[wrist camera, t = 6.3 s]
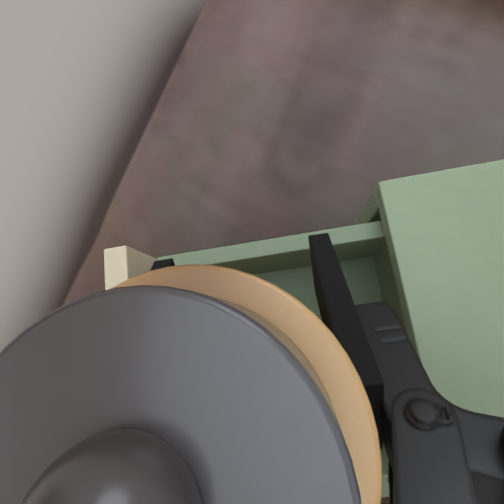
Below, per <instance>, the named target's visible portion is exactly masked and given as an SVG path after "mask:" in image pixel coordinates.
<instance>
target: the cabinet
mask: <svg viewBox="0 0 504 504" xmlns="http://www.w3.org/2000/svg"><path fill="white" fill-rule="evenodd" d="M375 221H382V225H383V230H384V234H385V238H386V243H387V247H388V252H389V256H390V260H391V265H392V269H393V273H394V278H395V282H396V287H397V291H398V295H399V300H400V304H401V308H402V313H403V317H404V321H405V326H406V330H407V335H408V339H409V340H410V341H411V343H412V345H413V347H414V349H415V351H416V353H417V355H418V357H419V359H420V361H421V363H422V365H423V367H424V369H425V371H426V373H427V375H428V377H429V379H430V381H431V383H432V384H433V386H434V387H435V389H436V390H437V391H438V392H439V393H440V394H441V395H442V396H443V397H444V398H445V399H446V400H448V401H449V402H451V403H452V404H454V405H456V406H458V407H460V408H463V409H465V410H469V411H473V412H477V413H482V414H487V415H492V416H498V417H503V418H504V159H503V160H498V161H492V162H486V163H481V164H475V165H470V166H464V167H458V168H453V169H447V170H442V171H436V172H430V173H425V174H419V175H414V176H408V177H402V178H397V179H391V180H385V181H380V182H378V184H377V186H376V187H375V190H374V191H373V193H372V195H371V197H370V199H369V200H368V202H367V204H366V206H365V208H364V209H363V211H362V213H361V215H360V217H359V218H358V220H357V222H356V224H355V225H357V224H363V223H369V222H375Z"/></svg>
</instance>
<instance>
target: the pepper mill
mask: <svg viewBox="0 0 504 504" xmlns="http://www.w3.org/2000/svg"><path fill="white" fill-rule="evenodd" d="M381 498H382V458H381V450H380V443H379V436H378V430H377V426H376V422H375V418H374V415H373V411H372V407H371V403H370V401H369V398H368V396H367V393H366V391H365V388H364V386H363V383H362V381H361V378H360V376H359V374H358V373H357V371H356V369H355V367H354V365H353V363H352V361H351V360H350V358H349V356H348V354H347V353H346V351H345V350H344V348H343V347H342V346H341V344H340V343H339V341H338V340H337V339H336V337H335V336H334V334H333V333H332V332H331V331H330V330H329V329H328V328H327V326H326V325H325V324H324V323H323V322H322V321H321V320H320V319H319V318H318V317H317V316H316V315H315V314H314V313H313V312H312V311H311V310H310V309H308V308H307V307H306V306H305V305H304V304H303V303H301V302H300V301H299V300H298V299H297V298H295V297H294V296H292V295H290V294H289V293H287V292H286V291H284V290H283V289H281V288H280V287H278V286H276V285H274V284H272V283H270V282H268V281H266V280H264V279H262V278H260V277H257V276H255V275H252V274H249V273H246V272H243V271H239V270H236V269H232V268H226V267H221V266H215V265H198V264H189V265H178V266H169V267H165V268H160V269H156V270H152V271H148V272H146V273H143V274H140V275H137V276H135V277H132V278H129V279H128V280H126V281H124V282H122V283H120V284H118V285H116V286H114V287H112V288H110V289H109V290H104V291H100V292H96V293H93V294H90V295H87V296H85V297H82V298H79V299H76V300H74V301H71V302H69V303H67V304H66V305H64V306H62V307H60V308H58V309H56V310H54V311H52V312H50V313H49V314H47V315H45V316H44V317H43V318H41V319H40V320H38V321H37V322H35V323H34V324H32V325H31V326H30V327H28V328H27V329H25V330H24V331H23V332H22V333H21V334H19V335H18V336H17V337H16V338H15V339H14V340H13V341H12V342H11V343H9V344H8V345H7V346H6V347H5V348H4V349H3V350H2V351H1V353H0V504H381Z"/></svg>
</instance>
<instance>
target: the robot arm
mask: <svg viewBox="0 0 504 504" xmlns="http://www.w3.org/2000/svg"><path fill="white" fill-rule="evenodd" d="M308 239H309V247H310V255H311V263H312V271H313V280H314V288H315V293H316V297H317V302H318V306H319V310H320V315H321V319H322V322H323V323H324V324H325V325H326V326H327V328H328V329H329V330H330V331H331V332H332V333H333V334H334V336H335V337H336V339H337V340H338V341H339V343H340V344H341V346H342V347H343V348H344V350H345V351H346V353H347V354H348V356H349V358H350V360H351V361H352V363H353V365H354V367H355V369H356V371H357V373H358V374H359V376H360V378H361V381H362V383H363V386H364V388H365V391H366V393H367V396H368V398H369V401H370V403H371V407H372V411H373V415H374V418H375V422H376V426H377V430H378V436H379V443H380V449H382V445H383V443H384V446H385V449H386V453H387V456H388V459H389V461H388V482H389V500H390V504H504V418H503V417H498V416H492V415H487V414H482V413H477V412H473V411H469V410H465V409H463V408H460V407H458V406H456V405H454V404H452V403H451V402H449V401H448V400H446V399H445V398H444V397H443V396H442V395H441V394H440V393H439V392H438V391H437V390H436V389H435V387H434V386H433V384H432V383H431V381H430V379H429V377H428V375H427V373H426V371H425V369H424V367H423V365H422V363H421V361H420V359H419V357H418V355H417V353H416V351H415V349H414V347H413V345H412V343H411V341H410V340H409V339H408V335H407V333H406V332H405V330H404V328H403V326H402V324H401V322H400V320H399V318H398V316H397V314H396V312H395V311H394V310H393V309H391V308H390V307H389V306H388V305H387V304H385V303H384V302H383V301H381V302H373V303H366V304H359V305H355V304H354V301H353V298H352V296H351V293H350V290H349V288H348V285H347V282H346V280H345V277H344V274H343V271H342V269H341V266H340V263H339V261H338V258H337V255H336V253H335V250H334V247H333V245H332V242H331V239H330V236H329V234H328V233H322V234H316V235H310V236H308ZM169 266H175V263H174V261H173V258H170V259H164V260H158V261H154V263H153V265H152V268H151V270H150V271H152V270H156V269H160V268H165V267H169Z"/></svg>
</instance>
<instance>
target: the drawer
mask: <svg viewBox="0 0 504 504" xmlns="http://www.w3.org/2000/svg"><path fill="white" fill-rule="evenodd" d="M322 233H328V234H329V236H330V239H331V242H332V245H333V247H334V250H335V253H336V255H337V258H338V261H339V263H340V266H341V269H342V271H343V274H344V277H345V280H346V282H347V285H348V288H349V290H350V293H351V296H352V298H353V301H354V304H355V305H359V304H366V303H373V302H381V301H383V302H384V303H385V304H387V305H388V306H389V307H390V308H391V309H393V310H394V311H395V312H396V314H397V316H398V318H399V320H400V322H401V324H402V326H403V328H404V330H405V332H406V333H407V330H406V326H405V321H404V317H403V313H402V308H401V304H400V300H399V295H398V291H397V287H396V282H395V278H394V273H393V269H392V265H391V260H390V256H389V252H388V247H387V243H386V238H385V234H384V230H383V225H382V221H375V222H369V223H363V224H357V225H351V226H345V227H339V228H333V229H327V230H321V231H315V232H309V233H303V234H297V235H291V236H285V237H278V238H272V239H266V240H260V241H254V242H248V243H242V244H236V245H230V246H224V247H218V248H212V249H206V250H200V251H194V252H188V253H182V254H176V255H170V256H164V257H158V258H157V259H156V258H153V257H151V256H149V255H146V254H144V253H142V252H139V251H137V250H135V249H132V248H130V247H128V246H120V247H114V248H108V249H104V266H105V290H109V289H110V288H112V287H114V286H116V285H118V284H120V283H122V282H124V281H126V280H128V279H129V278H132V277H135V276H137V275H140V274H143V273H146V272H148V271H150V270H151V268H152V265H153V263H154V261H158V260H164V259H170V258H173V261H174V263H175V266H178V265H189V264H198V265H215V266H221V267H226V268H232V269H236V270H239V271H243V272H246V273H249V274H252V275H255V276H257V277H260V278H262V279H264V280H266V281H268V282H270V283H272V284H274V285H276V286H278V287H280V288H281V289H283V290H284V291H286V292H287V293H289V294H290V295H292V296H294V297H295V298H297V299H298V300H299V301H300V302H301V303H303V304H304V305H305V306H306V307H307V308H308V309H310V310H311V311H312V312H313V313H314V314H315V315H316V316H317V317H318V318H319V319H320V320H321V321H322V319H321V315H320V310H319V306H318V302H317V297H316V293H315V288H314V280H313V271H312V263H311V255H310V247H309V239H308V236H310V235H316V234H322ZM380 450H381V458H382V498H384V497H389V482H388V461H389V459H388V456H387V453H386V449H385V446H384V443H383V445H382V449H380Z"/></svg>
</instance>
